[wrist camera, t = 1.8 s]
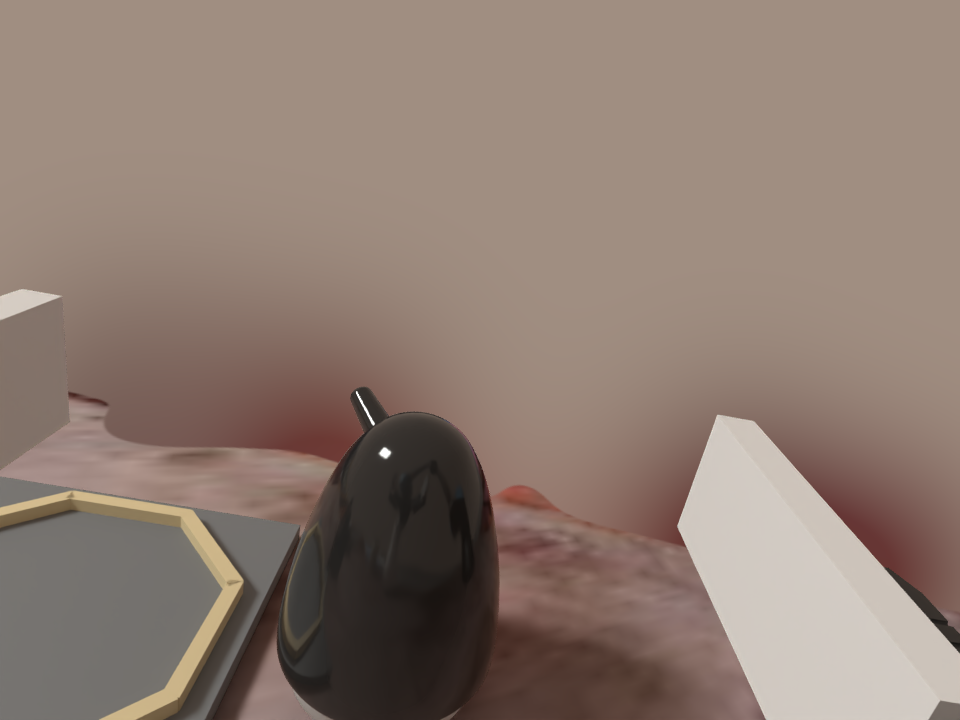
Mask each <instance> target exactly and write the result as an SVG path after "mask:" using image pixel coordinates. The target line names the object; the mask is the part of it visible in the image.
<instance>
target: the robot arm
mask: <svg viewBox="0 0 960 720" xmlns="http://www.w3.org/2000/svg"><path fill="white" fill-rule="evenodd" d="M69 422H70V418H69V401H68V384H67V368H66V351H65V334H64V319H63V302H62V296H58V295H53V294H47V293H41V292H36V291H30V290H25V289H20V290H17V291H14V292H12V293H9V294H6V295H3V296H0V470H1V469H2V468H4V467H5V466H7V465H8V464H10V463H11V462H13V461H14V460H15V459H17V458H18V457H20V456H21V455H23V454H24V453H26V452H27V451H28V450H30V449H31V448H33V447H34V446H36V445H37V444H39V443H40V442H42V441H43V440H44V439H46V438H47V437H49V436H50V435H52V434H53V433H55V432H56V431H57V430H59V429H60V428H62V427H63V426H65V425H66V424H68V423H69ZM677 527H678V529H679V531H680V533H681V536H682V538H683V540H684V542H685V544H686V546H687V549H688V551H689V553H690V555H691V557H692V560H693V562H694V564H695V566H696V568H697V570H698V573H699V575H700V577H701V579H702V581H703V583H704V586H705V588H706V590H707V592H708V594H709V597H710V599H711V601H712V603H713V605H714V607H715V610H716V612H717V614H718V616H719V618H720V620H721V623H722V625H723V627H724V629H725V631H726V634H727V636H728V638H729V640H730V642H731V644H732V647H733V649H734V651H735V653H736V655H737V658H738V660H739V662H740V664H741V666H742V668H743V671H744V673H745V675H746V677H747V679H748V681H749V684H750V686H751V688H752V690H753V692H754V695H755V697H756V699H757V701H758V703H759V705H760V708H761V710H762V712H763V714H764V716H765V719H766V720H960V634H959V633H958V632H957V631H956V630H955V628H954V627H951V626H948V624H947V623H948V621H947V620H946V619H945V618H944V616H943V615H942V614H941V613H940V612H939V611H938V610H937V609H936V608H935V607H934V606H933V605H932V604H931V602H930V601H929V600H928V599H927V598H926V597H925V596H924V595H923V594H922V593H921V592H920V591H918V590H917V589H915V588H914V587H913V586H912V585H910V584H909V583H908V582H906V581H905V580H904V579H902V578H901V577H900V576H898V575H897V574H896V573H894V572H893V571H892V570H890V569H889V568H885V567H883V566H882V565H881V564H880V563H879V562H878V561H877V560H876V559H875V557H874V556H873V555H872V554H871V553H870V552H869V551H868V550H867V548H866V547H865V546H864V545H863V544H862V543H861V542H860V540H859V539H858V538H857V537H856V536H855V535H854V534H853V533H852V531H851V530H850V529H849V528H848V527H847V526H846V525H845V524H844V523H843V521H842V520H841V519H840V518H839V517H838V516H837V515H836V513H835V512H834V511H833V510H832V509H831V508H830V507H829V506H828V504H827V503H826V502H825V501H824V500H823V499H822V498H821V497H820V495H819V494H818V493H817V492H816V491H815V490H814V489H813V487H812V486H811V485H810V484H809V483H808V482H807V481H806V480H805V478H804V477H803V476H802V475H801V474H800V473H799V472H798V470H797V469H796V468H795V467H794V466H793V465H792V464H791V463H790V461H789V460H788V459H787V458H786V457H785V456H784V455H783V454H782V452H781V451H780V450H779V449H778V448H777V447H776V446H775V445H774V443H773V442H772V441H771V440H770V439H769V438H768V437H767V435H765V433H764V432H763V431H762V430H761V429H760V428H759V427H758V425H757V424H756V423H755V422H754V421H750V420H744V419H739V418H733V417H728V416H721V415H717V418H716V420H715V423H714V426H713V429H712V432H711V434H710V437H709V440H708V443H707V446H706V448H705V451H704V454H703V457H702V459H701V462H700V465H699V468H698V471H697V473H696V476H695V479H694V481H693V484H692V488H691V490H690V493H689V496H688V498H687V501H686V504H685V507H684V509H683V512H682V515H681V518H680V520H679V523H678V526H677Z"/></svg>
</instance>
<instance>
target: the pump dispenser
mask: <svg viewBox="0 0 960 720" xmlns="http://www.w3.org/2000/svg"><path fill="white" fill-rule="evenodd" d="M350 399H351V402H352V405H353V407H354V410H355V412H356V414H357V417H358V419H359V422H360V424H361V426H362V429H363V431H364V434H362V435H361V436H360V437H359V439H357V440H356V442H355V443H354V444H353V445H352V446H351V447H350V448H349V450H348V451H347V452H346V453H345V455H344V456H343V457H342V459H341V460H340V462H339V463H338V465H337V466H336V468H335V470H334V471H333V473H332V475H331V476H330V478H329V480H328V481H327V483H326V485H325V487H324V489H323V491H322V493H321V495H320V497H319V499H318V501H317V503H316V505H315V507H314V509H313V511H312V513H311V515H310V518H309V520H308V522H307V524H306V527H305V529H304V532H303V534H302V537H301V539H300V542H299V544H298V547H297V550H296V553H295V556H294V559H293V562H292V565H291V569H290V572H289V576H288V579H287V583H286V587H285V590H284V594H283V598H282V602H281V607H280V612H279V618H278V626H277V654H278V659H279V663H280V666H281V669H282V671H283V673H284V675H285V677H286V679H287V681H288V682H289V684H290V685H291V687H292V689H293V691H294V694H295V696H296V698H297V699H298V701H299V703H300V704H301V706H302V707H303V709H304V710H305V711H306V713H307V714H308V715H309V716H310V717H311V718H312V719H313V720H450V719H451V718H452V717H453V716H454V715H455V714H456V713H457V712H458V711H459V709H460V708H461V707H462V706H463V705H464V704H466V703H467V702H468V701H469V700H470V699H471V698H472V697H473V696H474V694H475V693H476V692H477V691H478V689H479V688H480V686H481V685H482V683H483V681H484V680H485V678H486V675H487V673H488V671H489V668H490V665H491V661H492V657H493V653H494V648H495V643H496V636H497V626H498V612H499V586H500V579H499V557H498V545H497V536H496V528H495V520H494V514H493V507H492V502H491V498H490V493H489V489H488V485H487V481H486V478H485V475H484V472H483V469H482V467H481V464H480V462H479V460H478V457H477V455H476V453H475V451H474V449H473V447H472V446H471V444H470V442H469V440H468V439H467V438H466V436H465V435H464V434H463V433H462V432H461V431H460V430H459V429H458V428H457V427H456V426H455V425H453V424H452V423H450V422H449V421H447V420H445V419H443V418H441V417H439V416H436V415H433V414H429V413H424V412H403V413H398V414H394V415H392V416H389V415H388V414H387V413H386V411H385V410H384V408H383V407H382V405H381V404H380V402H379V401H378V400H377V398H376V397H375V395H374V394H373V392H372V391H371V390H370V389H369V388H368V387H359V388H357V389H355V390H354V391H353V392H352V394H351V397H350Z"/></svg>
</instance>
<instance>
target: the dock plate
mask: <svg viewBox="0 0 960 720" xmlns="http://www.w3.org/2000/svg"><path fill="white" fill-rule="evenodd" d="M299 532H300V525H296V524H290V523H283V522H277V521H271V520H265V519H259V518H253V517H246V516H240V515H234V514H228V513H222V512H216V511H209V510H203V509H197V508H191V507H185V506H178V505H172V504H166V503H160V502H154V501H148V500H141V499H135V498H129V497H123V496H117V495H111V494H104V493H98V492H92V491H86V490H80V489H74V488H67V487H61V486H55V485H49V484H43V483H36V482H30V481H24V480H18V479H12V478H6V477H0V720H212V719H213V717H214V715H215V713H216V711H217V709H218V706H219V704H220V702H221V700H222V698H223V696H224V694H225V692H226V690H227V688H228V685H229V683H230V681H231V679H232V677H233V675H234V673H235V671H236V669H237V667H238V665H239V662H240V660H241V658H242V656H243V654H244V652H245V650H246V648H247V646H248V644H249V642H250V639H251V637H252V635H253V633H254V631H255V629H256V627H257V625H258V623H259V621H260V618H261V616H262V614H263V612H264V610H265V608H266V606H267V604H268V602H269V600H270V598H271V595H272V593H273V591H274V589H275V587H276V585H277V583H278V581H279V579H280V577H281V574H282V572H283V570H284V568H285V566H286V564H287V562H288V560H289V558H290V556H291V554H292V551H293V549H294V547H295V545H296V543H297V541H298V539H299Z"/></svg>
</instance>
